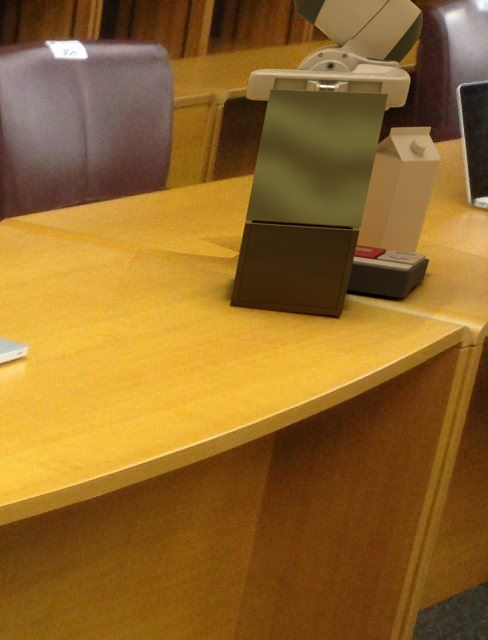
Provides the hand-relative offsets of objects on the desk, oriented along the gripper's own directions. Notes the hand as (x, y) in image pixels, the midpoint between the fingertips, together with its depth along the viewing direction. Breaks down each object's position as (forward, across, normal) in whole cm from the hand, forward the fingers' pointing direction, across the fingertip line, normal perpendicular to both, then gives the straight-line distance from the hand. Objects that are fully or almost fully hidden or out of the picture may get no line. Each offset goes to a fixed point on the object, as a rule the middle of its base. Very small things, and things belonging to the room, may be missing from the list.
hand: (326, 92), depth 204 cm
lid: (+15, 0, +7) cm, 16 cm away
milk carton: (-25, +12, +26) cm, 38 cm away
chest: (+11, 0, +26) cm, 28 cm away
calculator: (-5, +11, +25) cm, 28 cm away
